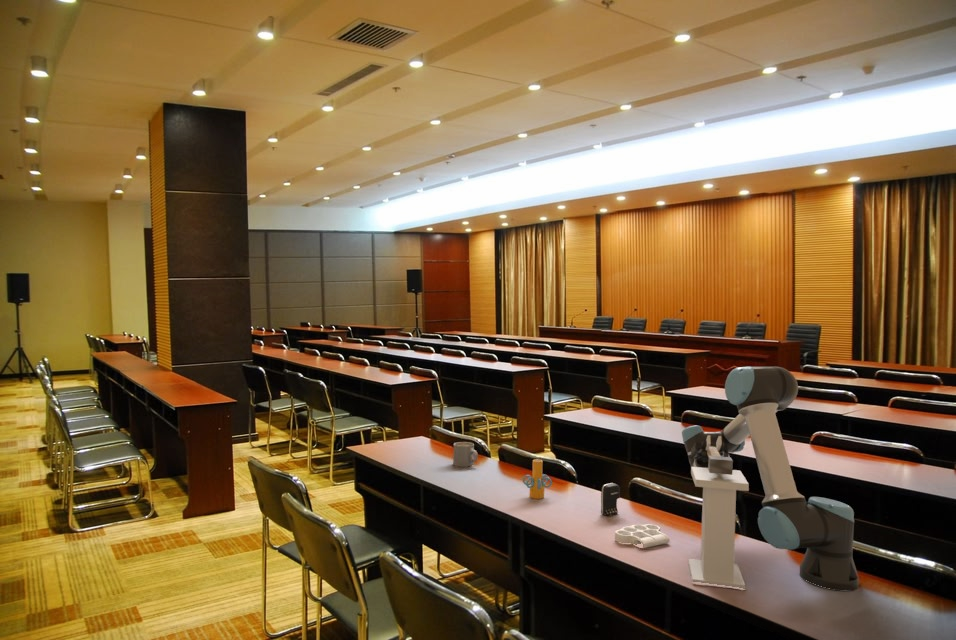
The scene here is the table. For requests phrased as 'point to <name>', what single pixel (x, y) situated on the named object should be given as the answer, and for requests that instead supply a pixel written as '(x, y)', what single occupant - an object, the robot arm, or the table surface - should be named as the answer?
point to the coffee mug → (464, 454)
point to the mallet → (719, 462)
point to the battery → (609, 499)
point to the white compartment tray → (642, 535)
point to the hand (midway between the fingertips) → (714, 439)
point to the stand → (718, 528)
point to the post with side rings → (537, 480)
